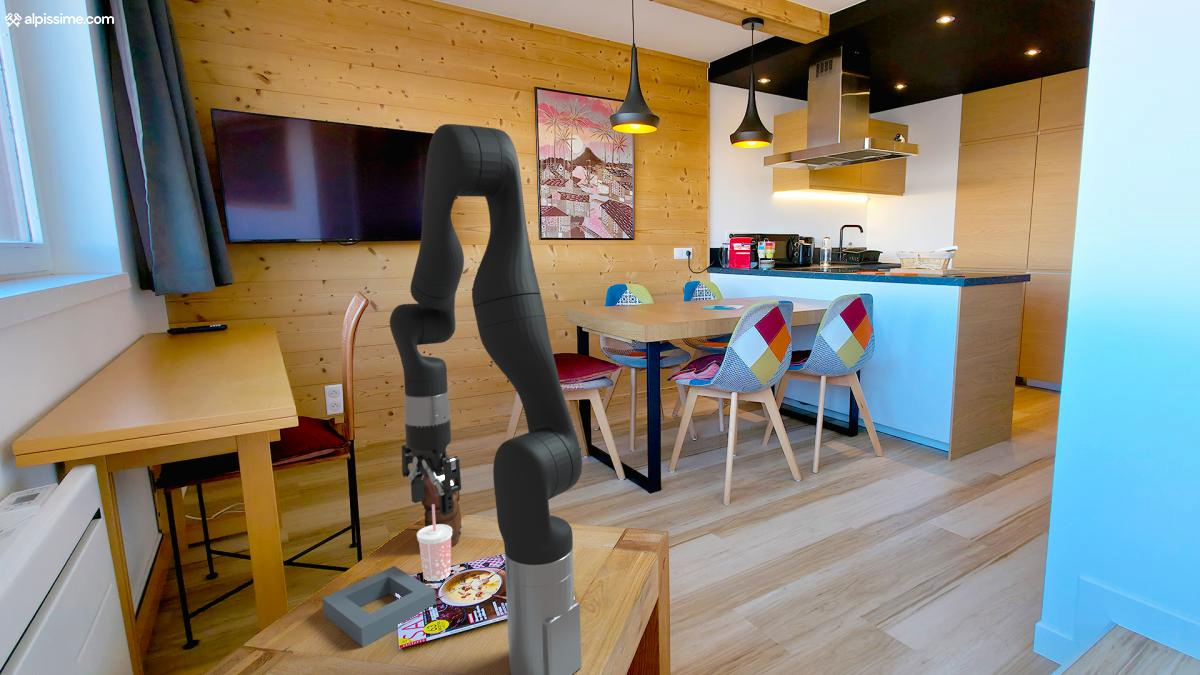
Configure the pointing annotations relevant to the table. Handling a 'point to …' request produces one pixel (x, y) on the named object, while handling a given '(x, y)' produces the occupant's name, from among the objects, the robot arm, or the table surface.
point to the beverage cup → (435, 550)
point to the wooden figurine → (433, 498)
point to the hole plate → (377, 624)
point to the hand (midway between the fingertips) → (432, 507)
